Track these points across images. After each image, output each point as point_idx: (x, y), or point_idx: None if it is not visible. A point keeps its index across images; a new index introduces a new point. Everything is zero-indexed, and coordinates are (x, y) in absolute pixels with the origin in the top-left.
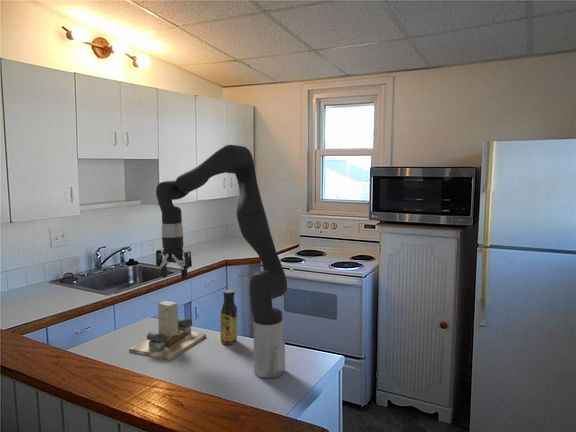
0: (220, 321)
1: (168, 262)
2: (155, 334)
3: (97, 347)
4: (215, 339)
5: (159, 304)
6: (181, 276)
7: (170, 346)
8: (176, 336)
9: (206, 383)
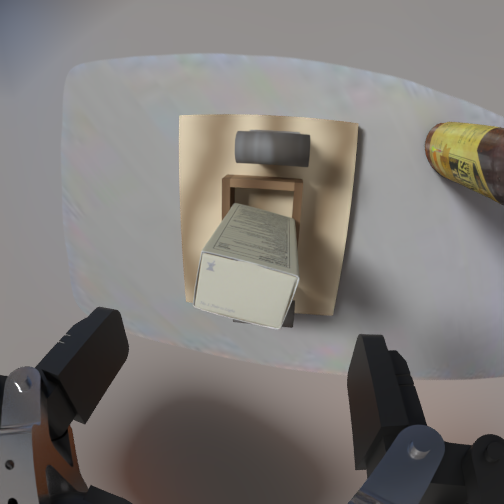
0: (462, 171)
1: (42, 432)
2: None
3: (104, 293)
4: (397, 136)
5: (207, 308)
6: (350, 403)
7: None
8: (298, 234)
9: (445, 362)
